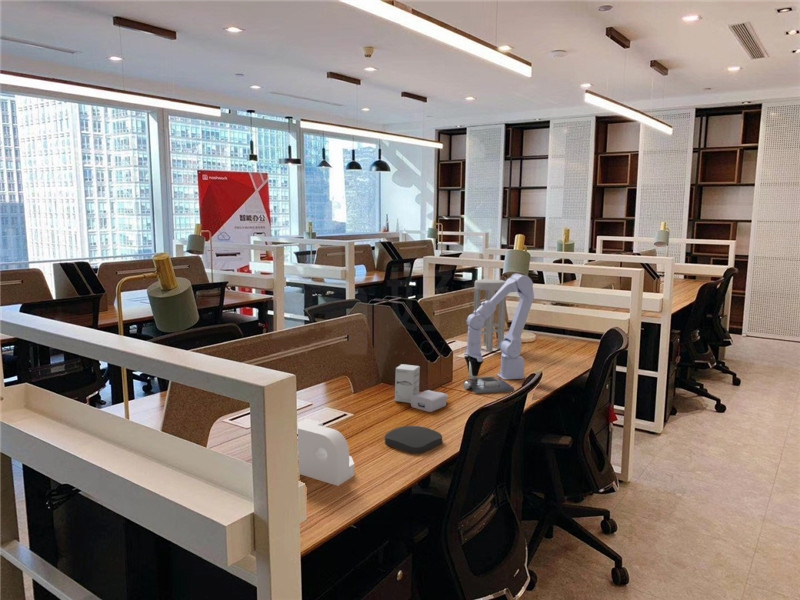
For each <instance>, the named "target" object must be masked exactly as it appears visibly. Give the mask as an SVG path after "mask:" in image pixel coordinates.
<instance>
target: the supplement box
mask: <svg viewBox="0 0 800 600" xmlns="http://www.w3.org/2000/svg"><path fill="white" fill-rule="evenodd" d="M420 371H421V367H420V366H419V365H412V364H406V363H405V364H404V363H403V364H402V363H400V364H399V366H396V367H395V374H394V376H395V378H394V381H395V382H394V402H401V403H408V404H411V396H413V395H416V394H418V393H420Z"/></svg>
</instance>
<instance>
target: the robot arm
mask: <svg viewBox="0 0 800 600" xmlns="http://www.w3.org/2000/svg"><path fill="white" fill-rule="evenodd" d="M533 286H534V282H533V281H532V279H531V277H529V276H528V275H523V274H520V273H513V274H511V275H510V277H508V278H507V279H506V282H505V283H504V285H503V286H502V287H501V288H500V289H499V290H497V291H496V292H495V295H494V296H493V297H492V298H491V300H486V301H485V300H484V301H482V302H480V307H479V308H478V309H477V310H476V311H474V310H473V313H471V314H469V315H468V316H467V319H465V323H466V324H467V340H466V341H467V343H466V344H467V345H466V347H467V348H465V349H464V351H465V352H464V355H465V356H464V359H465V362H466V367H467V370H468V373H469V361H470V363H471V368H472V376H477V377H478V375H479V372H480V368H481V366H482V364H483V363H484V358H483V355H482V335H483V334H482V332H481V331H483V328H482V327H483V326H484V321H485V320H486V319H487V318H488V317H489V316H490V315H491V314H492V313H493V312H494V313H495V311H496V309H497V305H499V302H500V301H501V300H502V299H504V298H505V297H506V298H507V296H508V295H509V294H511V293H517V294H518V296H519V301H518V303H517V306H516V309H515V312H514V315H513V319H512V321H511V324H510V327H509V329H508V330H509V331H508V332H507V333H506V334H504V339H503V341H502V342H501V343H500V349H499V351H500V352H501V356H500V373H496V375H497V376H498V377H500V379H502V380H503V381H505V380H519V379H521V380H522V379H525V359H524V358H523V356H520V355H521V353H522V344H523V343H522V334H523V332H524V328H525V325H526V323H527V318H528V317H529V313H530V310H531V307H532V305H533V302H534V298H535V293H534V287H533ZM469 358H470V359H469ZM468 359H469V360H468Z"/></svg>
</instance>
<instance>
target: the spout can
mask: <svg viewBox="0 0 800 600" xmlns="http://www.w3.org/2000/svg"><path fill="white" fill-rule="evenodd" d="M469 359H470V358H469ZM469 359H468V360H469ZM468 379H469V380H477V379H478V376H472V368H471V363H470V361H469V372H468Z"/></svg>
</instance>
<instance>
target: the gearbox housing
mask: <svg viewBox="0 0 800 600" xmlns="http://www.w3.org/2000/svg"><path fill="white" fill-rule="evenodd" d="M463 388H464V390H466V391H467V390H470V391H471V392H473V394H475V395H478V394H481V395H482V394H493V393H495V394H497V393H511V392H515V387H514V386H512V384H509V383H508V382H506V381H505V380H504V379H503V378H496V377H495V376H481V377H478V376H477V379H476V380H471V379H469V380H463Z"/></svg>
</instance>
